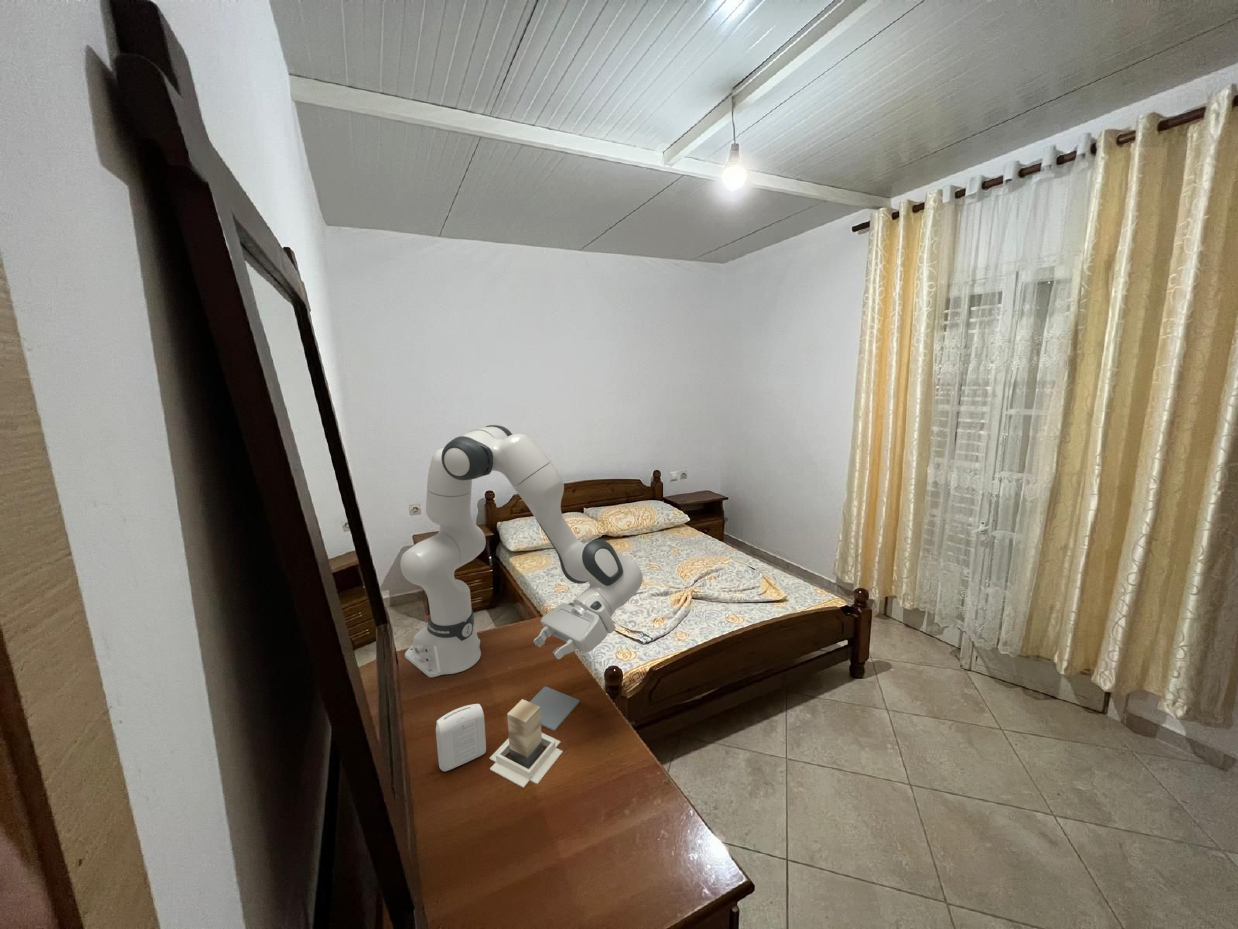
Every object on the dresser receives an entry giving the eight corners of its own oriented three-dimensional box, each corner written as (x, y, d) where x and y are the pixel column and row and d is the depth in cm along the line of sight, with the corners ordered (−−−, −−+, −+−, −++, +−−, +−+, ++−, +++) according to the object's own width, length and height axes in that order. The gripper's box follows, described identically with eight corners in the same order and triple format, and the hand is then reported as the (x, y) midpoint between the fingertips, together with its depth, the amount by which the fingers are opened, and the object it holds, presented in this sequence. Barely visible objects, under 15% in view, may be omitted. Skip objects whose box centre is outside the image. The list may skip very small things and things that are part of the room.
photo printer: (483, 740, 109) (479, 695, 106) (489, 753, 106) (485, 707, 103) (437, 761, 104) (431, 714, 101) (441, 776, 100) (436, 727, 97)
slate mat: (518, 715, 117) (518, 713, 117) (545, 687, 126) (545, 686, 126) (554, 731, 112) (554, 730, 112) (579, 702, 121) (579, 700, 121)
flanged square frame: (483, 766, 103) (482, 758, 102) (522, 724, 114) (521, 717, 113) (531, 792, 97) (530, 784, 96) (567, 745, 108) (567, 738, 107)
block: (510, 759, 104) (507, 713, 101) (524, 743, 108) (522, 699, 106) (528, 769, 102) (525, 722, 99) (542, 752, 106) (540, 706, 103)
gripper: (563, 591, 121) (519, 627, 114) (608, 608, 104) (560, 652, 97) (574, 611, 123) (531, 648, 115) (620, 631, 106) (573, 675, 99)
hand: (545, 650), depth 106 cm, fingers open, 8 cm apart
